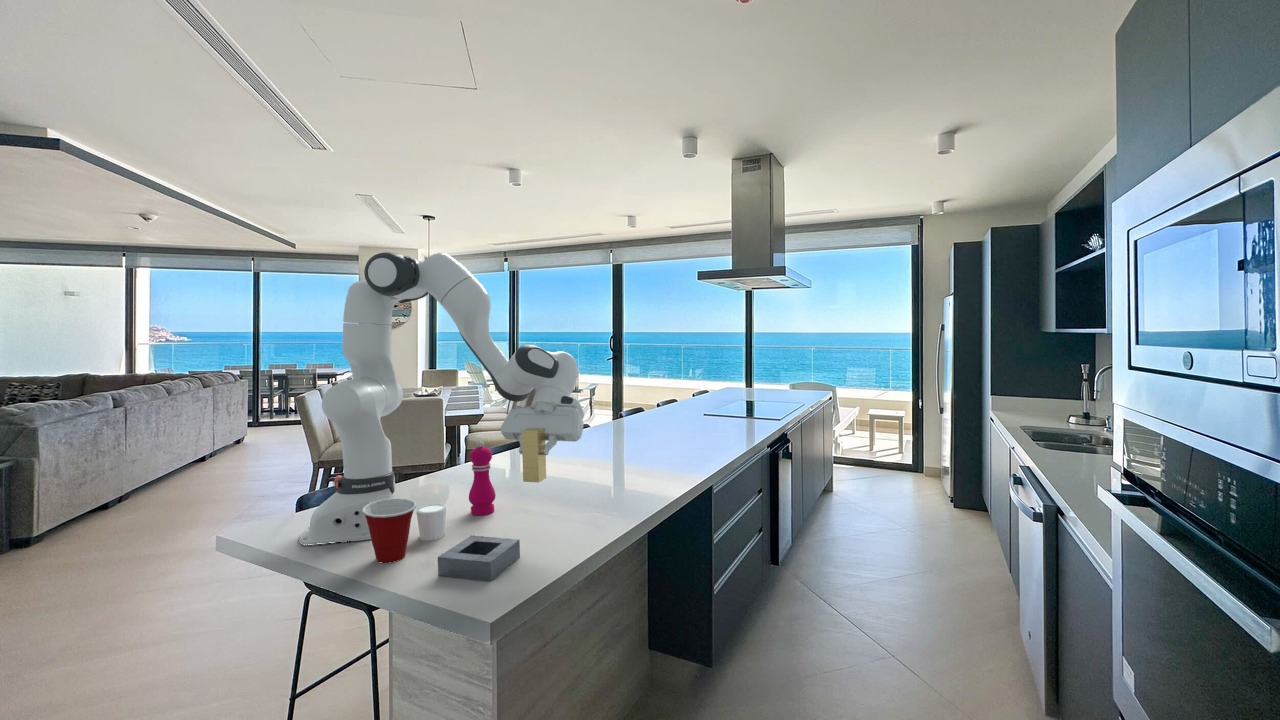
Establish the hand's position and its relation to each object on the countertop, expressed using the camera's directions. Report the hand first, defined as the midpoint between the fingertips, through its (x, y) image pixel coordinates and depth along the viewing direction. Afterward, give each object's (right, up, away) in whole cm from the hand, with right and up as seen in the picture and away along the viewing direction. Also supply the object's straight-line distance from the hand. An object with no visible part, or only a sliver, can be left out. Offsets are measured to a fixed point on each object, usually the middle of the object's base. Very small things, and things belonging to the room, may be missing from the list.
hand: (532, 453), depth 122 cm
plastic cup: (-30, -22, -7) cm, 38 cm away
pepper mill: (-19, -21, +24) cm, 37 cm away
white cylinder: (-26, -22, +6) cm, 35 cm away
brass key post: (0, -6, +1) cm, 6 cm away
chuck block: (-9, -22, -12) cm, 26 cm away
